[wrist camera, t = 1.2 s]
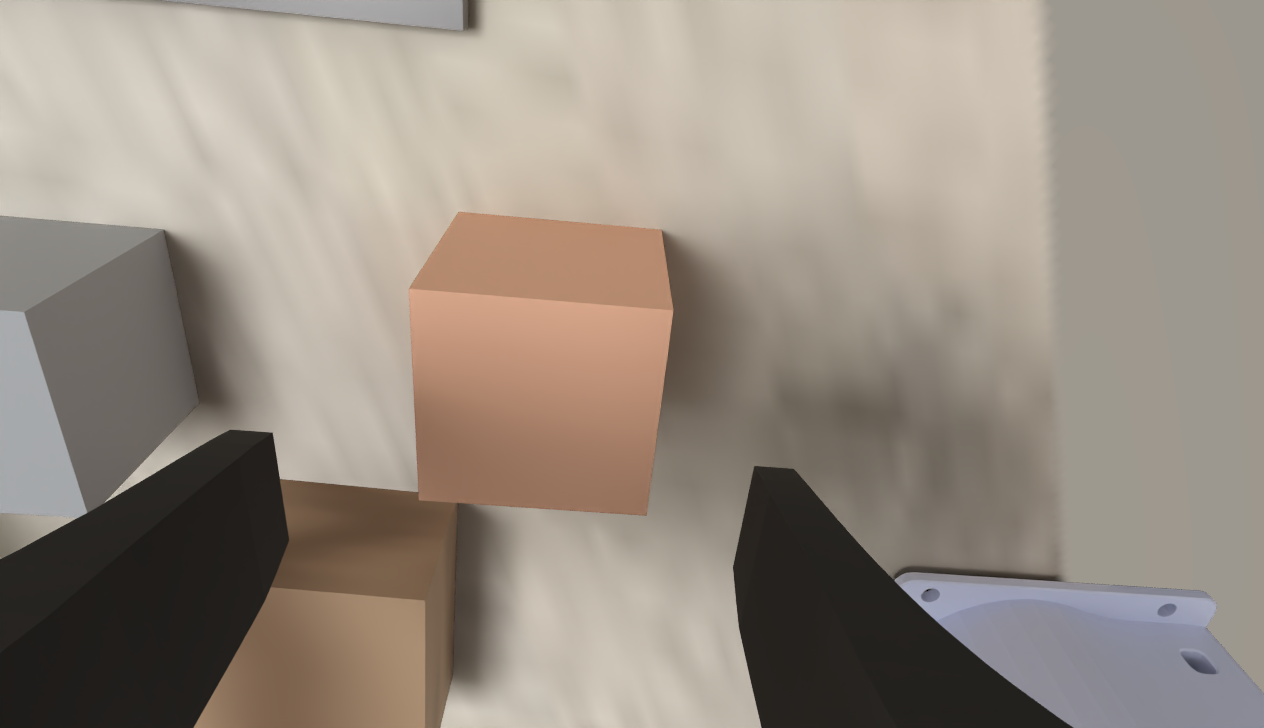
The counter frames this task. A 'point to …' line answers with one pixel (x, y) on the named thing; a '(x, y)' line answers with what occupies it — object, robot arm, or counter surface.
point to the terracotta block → (540, 363)
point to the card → (364, 10)
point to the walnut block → (349, 617)
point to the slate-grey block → (85, 361)
